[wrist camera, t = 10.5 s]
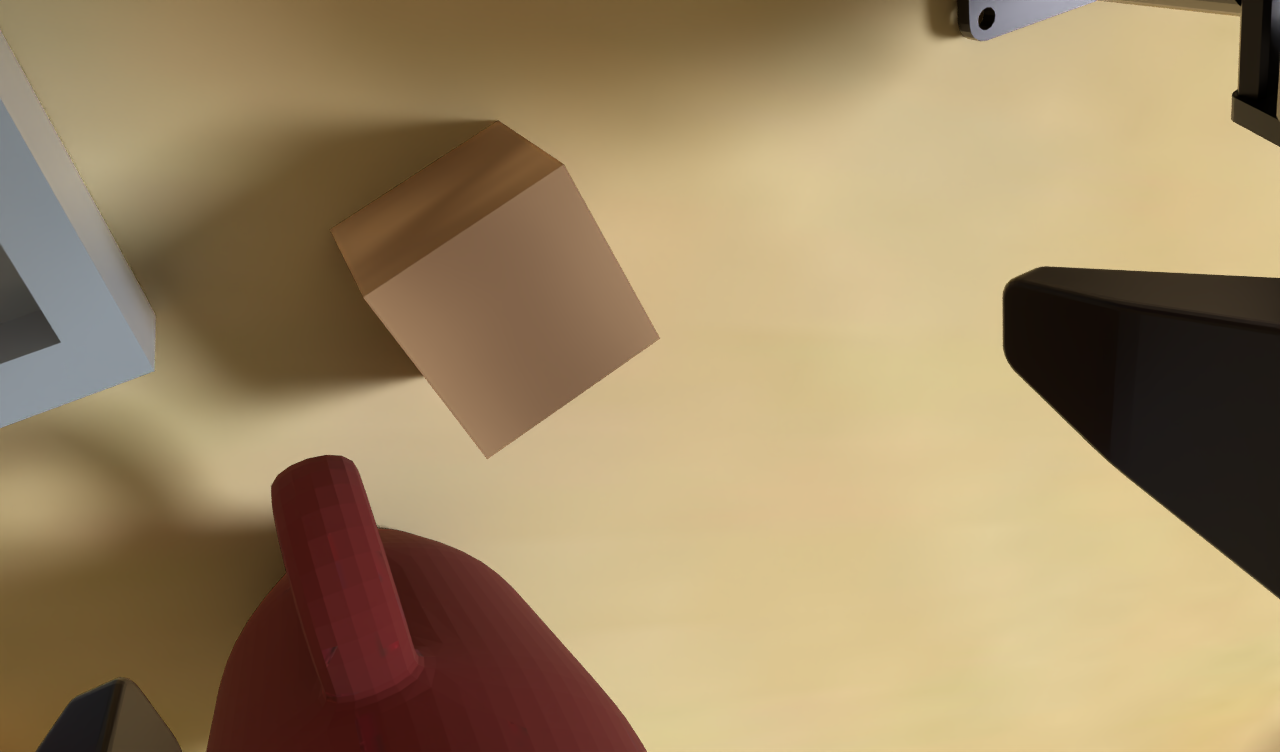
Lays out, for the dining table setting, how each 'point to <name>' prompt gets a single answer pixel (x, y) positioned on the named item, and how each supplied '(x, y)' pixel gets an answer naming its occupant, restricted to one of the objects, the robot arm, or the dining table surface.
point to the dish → (58, 271)
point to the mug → (396, 645)
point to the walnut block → (496, 284)
